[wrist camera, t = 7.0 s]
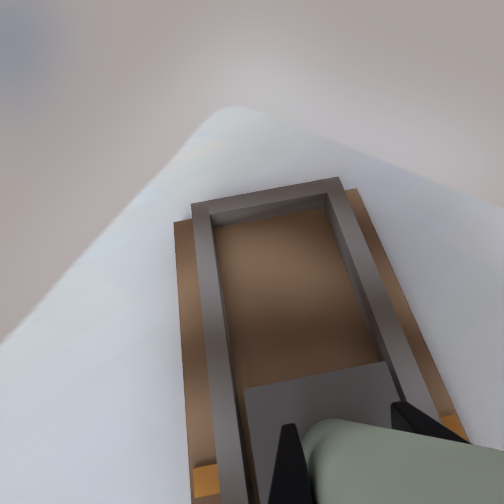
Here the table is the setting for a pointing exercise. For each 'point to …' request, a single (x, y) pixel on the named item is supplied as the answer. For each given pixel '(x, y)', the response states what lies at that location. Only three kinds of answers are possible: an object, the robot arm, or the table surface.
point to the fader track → (285, 318)
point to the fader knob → (365, 444)
